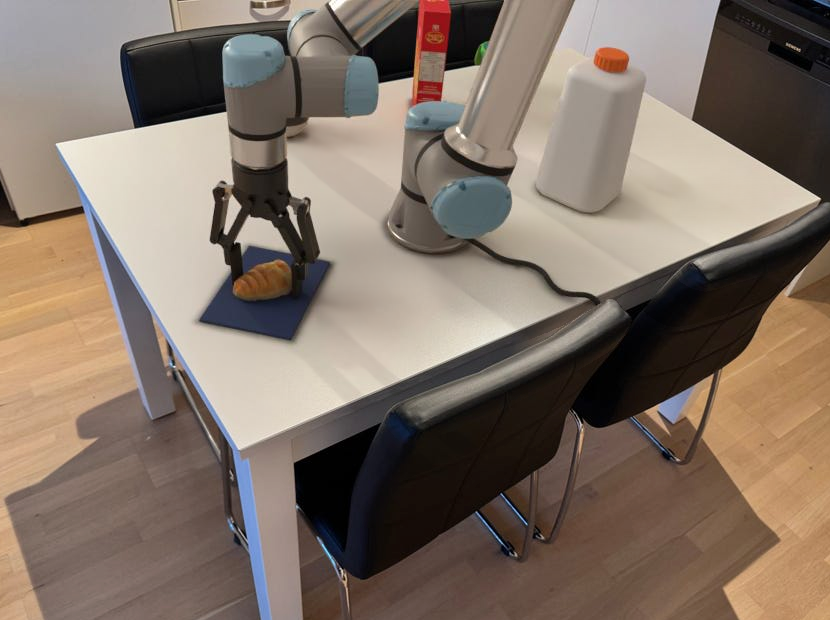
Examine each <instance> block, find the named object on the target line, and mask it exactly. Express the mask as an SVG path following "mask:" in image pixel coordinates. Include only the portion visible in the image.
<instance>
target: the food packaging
mask: <svg viewBox="0 0 830 620" xmlns="http://www.w3.org/2000/svg"><path fill="white" fill-rule="evenodd" d="M451 16H452V11H451V7H450V3H449V0H420V1H419V7H418V16H417V17H418V18H417V31H416V43H415V55H414V66H413V67H414V68H413V78H412V79H413V80H412V91H411V107H413V106H414V105H417V104H419V103H423V102H430V101H442V99H443V88H444V80H445V70H446V63H447V62H446V61H447V51H448V44H449V34H450V27H451V26H450V25H451Z"/></svg>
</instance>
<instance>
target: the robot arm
mask: <svg viewBox="0 0 830 620" xmlns="http://www.w3.org/2000/svg"><path fill="white" fill-rule="evenodd" d="M575 2H576V0H503V4H502V5H501V6H502V7H501V9H500V12H499V14H498V17H497V19H496V22H495V25H494V28H493V31H492V33H491V36H490V38H489V40H488V41H489V44H488V46H487V49H486V52H485V54H484V57H483V60H482V63H481V65H479V68H478V70H477V73H476V76H475V79H474V82H473V84H472V87H471V90H470V92H469V95H468V98H467V100H466V103H465V105H463V104H460V103H456V102H451V101H443V100H441V101H430V102H423V103H419V104H417V105H414V106H413V107H412V106H411V107H410V108H409V109H408V111H407V113H406V118H405V124H403V128H404V136H403V137H404V139H403V151H402V165H401V166H402V167H401V177H400V178H401V179H400V188H399V191H398V193H397V195H396V196H395V199H394V202H393V203H392V205H391V208H390V210H389V212H388V218H387V231H388V234H389V235H390V237H391V238H392V239H393V240H394V241H395V242H396V243H398V244H399V245H401V246H403V247H404V248H407V249H409V250H411V251H412V250H413V251H415V252H419V253H424V254H434V255H435V254H437V255H438V254H446V253H451V252H455V251H457V250H461V249H462V248H463V247H465V246H466V245H467V244H468V243H469V244H472V245H473V246H474V247H476V248H478V249H479V250H481V251H483V252H484V253H486V254H487V255H489V256H490V257H491V258H493V259H495V260H496V261H499V262H502V263H505V264H507V265H512V266H513V265H514V266H520V267H524V268H529V269H531V270H534V271H536V272H537V273H538V274H540V276H542V278H543V279H544V281H545V282H546V284H547V286H548V287H549V288H550V289H551V290H552V291H553V292H554V293H556V294H558V295H560V296H563V297H567V298H578V299H579V298H580V299H582V298H583V299H587V300H589V301H591V302H592V303H593V304H594V306H596V305H598V304H600V303H602V302H601V300H600V299H599V298H598V297H597V296H596V295H594V294H592V293H590V292H587V291H572V290H571V291H570V290H566V289H563V288H561V287H559V286H558V285H557V284H555V282H554V281H553V279H552V277H550V275H549V274H548V272H547V270H545V269H544V268H543V267H541V266H540V265H539V264H536V263H535V262H532V261H529V260H523V259H516V258H511V257H507V256H504V255H501V254H500V253H498V252H496V251H494V250H493V249H492V248H490V247H488V246H487V245H485V244H484V243H483V242H481V241H480V240H477V238H481V237H484V236H485V235H486V234H488V233H492V232H494V231H495V230H497V229H498V228H499V227H501V226H502V225H503V224H504V222H505V221H506V220H507V219H508V217H509V215H510V213H511V211H512V208H513V207H512V206H513V196H512V191H511V189H510V187H509V186H508V184H509V181H510V179H511V178H512V175H513V173H514V170H515V168H516V167H517V163H518V155H517V153H516V151H515V148H514V145H515V142H516V140H517V137H518V135H519V132H520V130H521V128H522V125H523V123H524V121H525V118H526V116H527V114H528V112H529V109H530V107H531V104H532V103H533V100H534V97H535V95H536V93H537V91H538V88H539V86H540V83H541V82H542V79H543V76H544V74H545V71H546V70H547V67H548V65H549V62H550V61H551V58H552V56H553V53H554V51H555V48H556V46H557V44H558V41H559V39H560V36H561V35H562V32H563V30H564V27H565V25H566V23H567V20H568V19H569V16H570V14H571V12H572V8H573V7H574V4H575ZM418 3H420V0H329V1H327V2H325V3H324V4H323V5H322V6H321V7H320V8H319V9H306V10H302V11H300V12H298V13H297V14H295V16H294V17H293V18H292V19H291V21H290V22H289V24H288V27H287V32H286V38H287V39H286V40H287V46H288V51H289V55H285V52H284V51H285V50H284V47H283V45H282V44H281V42H279V40H277V39H275V38H273V37H271V36H267V35H264V36H262V35H260V34H255V33H254V34H252V33H251V34H250V33H249V34H240V35H237V36H233V37H232V38H229V39H228V40H227V41H226V42H225V43H224V45H223V48H222V51H221V52H222V53H221V55H222V81H223V90H224V91H223V92H224V100H225V109H226V116H227V117H226V119H227V129H228V141H229V154H230V157H231V160H230V162H231V163H230V165H231V173H232V175H231V176H232V182H233V184H228V183H227V182H226V181H225V180H219V181H218V182H217V184H216V185H215V186H214V188H213V189H212V190H211V192H212V196H213V201H214V207H213V214H212V220H211V226H210V233H209V242H210V243H211V245H219V246H221V248H222V250H223V257H224V264H225V265H226V266H229V267H230V273H231V276H232V285H233V286H234V282H235V281H237V280H238V278H239V277H241V276H242V275H243V264H242V255H243V254H242V243H241V242H239V241H238V242H237V239H238V236H239V234H240V232H241V231H242V229H243V227H244V225H245V223H246V222H247V219H248V218H249V217H250V218H254V219H262V220H265V221H270V222H271V224H272V226H273V227H274V229H276V230H277V231H278V232H279V234H280V236H281V238H282V240H283V241H284V244H285V245H286V248H288V251H289V253H290V254H292V256H293V258H294V260H293V262H292V264H291V275H292V298H293V299H297V298H298V296H299V295H300V293H301V291H302V280H303V281H304V280H305V278H306V276H307V274H308V263H310V264H314V263H315V262H316V260H317V259H318V258H319V256H320V254H321V249H320V245H319V242H318V238H317V234H316V230H315V227H314V223H313V219H312V215H311V204H312V200H311V198H310V197H308V196H304V197H303V198H302V199H301V198H298V197H296V196H293V195H292V193H291V191H290V189H289V163H288V159H287V157H288V137H287V133H286V118H300V117H309V118H346V119H351V117H352V118H353V117H363V116H364V117H365V116H370V115H373V114H374V113H375V111H376V110H377V107H378V104H379V96H380V95H379V94H380V88H379V87H380V84H379V83H380V82H379V76H378V75H379V73H378V69H377V66H376V63H375V61H374V60H373V58H371V57H369V56H361V55H357V53H358V52H359V51H361V50H362V49H363V47H365V46H366V45H367V44H368V43H370V42H371V41H372V40H374V38H376V37H377V36H378V35H380V34H381V33H382V32H383V31H384V30H385V29H387V28H388V27H390V25H392V24H393V23H394V22H396V21H397V20H398V19H399V18H401V16H403V15H404V14H405V13H406V12H407V11H410V9H411V8H413V7H414V6H415V5H416V4H418ZM232 196H233V197H234V199H235V200H236V202H237V203H238V204H239V206H240V209H239V210H238V213H237V214H236V216H235V219H234V221H233V223H232V225H231V227H230V228H229V230H228V232H227V234H226V233H225V228H226V222H227V215H228V210H229V203H230V198H231V197H232ZM288 206H289V207H291V208H292V211H293V215H294V216H296V224H297V226H298V230H297V229H296V227H295V225H294V223H293V221H292V219H291V218H290V217H291V216H290V212H289V210H288ZM298 231H299V232H298Z"/></svg>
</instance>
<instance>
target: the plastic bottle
mask: <svg viewBox="0 0 830 620" xmlns="http://www.w3.org/2000/svg"><path fill="white" fill-rule="evenodd" d="M629 61H630V55H629V53H627V52H626V51H624V50H622V49H620V48H616V47H610V46H604V47H600V48H598V49H597V50H596V51H595V54H594V55H591V56H588V57H586V58H584V59H582V60H581V61H579V62H577V63H575V64H574V65H572V66H571V67H570V68H569V69H568V71H567V73H566V77H565V80H564V84H563V86H562V91H561V94H560V97H559V101H558V104H557V107H556V111H555V114H554V117H553V120H552V124H551V128H550V131H549V134H548V138H547V141H546V144H545V147H544V150H543V155H542V157H541V161H540V165H539V167H538V171H537V175H536V177H535V178H536V179H535V187H536V189H537V191H538V192H539V193H540V194H541V195H543V196H545V197H546V198H549V199H551V200H554V201H556V202H558V203H559V204H562V205H564V206H566V207H568V208H570V209H573V210H576V211H578V212H581V213H588V214H591V213H596V212H599V211H602V210H603V208H606V206H608V205H609V204H610V203H611V202H612V201H613V200H615V198H617V197H618V196H619V195H620V194H621V191H622V188H623V183H624V179H625V174H626V170H627V166H628V161H629V157H630V152H631V149H632V143H633V140H634V135H635V130H636V126H637V122H638V117H639V113H640V108H641V105H642V100H643V95H644V91H645V87H646V82H647V76H646V73H645V72H644V71H643V70H642V69H640V68H638V67H636V66H633V65H630V64H629Z"/></svg>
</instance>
